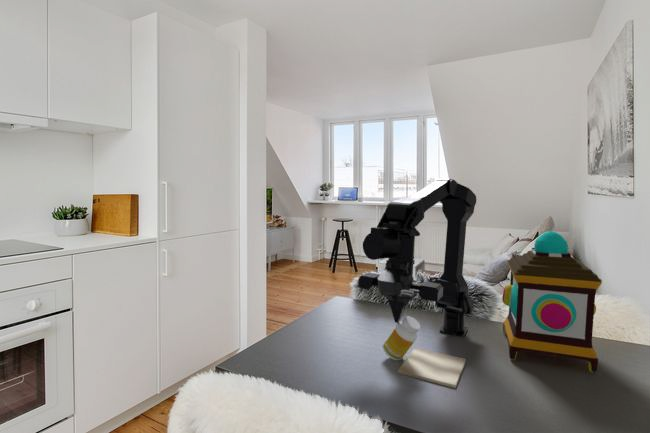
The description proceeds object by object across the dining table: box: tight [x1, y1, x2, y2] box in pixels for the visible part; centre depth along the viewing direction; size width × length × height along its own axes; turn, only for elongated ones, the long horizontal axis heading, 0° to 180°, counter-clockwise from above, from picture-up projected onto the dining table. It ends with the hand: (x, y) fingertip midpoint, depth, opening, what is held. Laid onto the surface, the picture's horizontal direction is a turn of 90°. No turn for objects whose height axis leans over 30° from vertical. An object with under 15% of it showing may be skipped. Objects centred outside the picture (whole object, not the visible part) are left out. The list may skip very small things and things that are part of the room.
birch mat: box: [397, 347, 467, 389], centre depth 83 cm, size 13×12×1 cm
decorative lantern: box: [502, 230, 603, 374], centre depth 90 cm, size 20×20×30 cm
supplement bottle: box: [382, 315, 421, 361], centre depth 86 cm, size 5×5×10 cm
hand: (397, 322), depth 86 cm, fingers closed
